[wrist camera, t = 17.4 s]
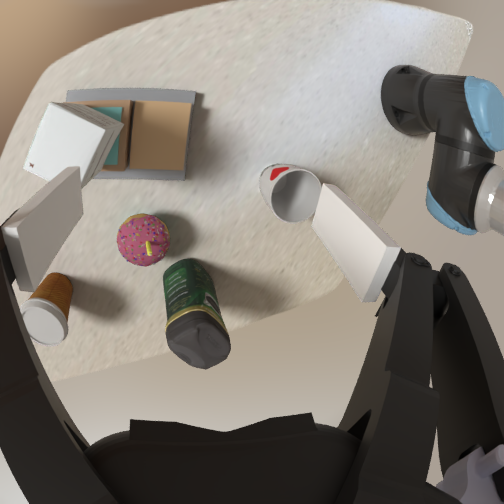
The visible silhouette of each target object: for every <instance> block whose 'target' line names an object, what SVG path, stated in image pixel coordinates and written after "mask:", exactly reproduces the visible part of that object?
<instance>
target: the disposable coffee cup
mask: <svg viewBox="0 0 504 504" xmlns="http://www.w3.org/2000/svg"><path fill="white" fill-rule="evenodd" d="M72 292H73V288H72V284H71V282H70V281H69V279H68V278H67V277H65V276H64V275H62V274H60V273H51V274H49V275H48V276H47V277H46V278H45V279H44V280H43V282H42V283H41V284H40V285H39V286H38V288H37V289H36V291H35V292H34V293H33V294H32V295H31V297H30V298H29V299H28V300H26V301H25V302H24V303H23V304H22V305H21V307H20V312H21V314H22V317H23V320H24V323H25V325H26V328H27V331H28V333H29V336H30V338H31V340H33V341H34V342H36V343H38V344H40V345H44V346H56V345H58V344H60V343H61V342H62V341H63V340H64V339H65V338H66V336H67V334H68V324H67V322H68V315H69V308H70V302H71V297H72Z"/></svg>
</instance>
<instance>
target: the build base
mask: <svg viewBox="0 0 504 504" xmlns="http://www.w3.org/2000/svg"><path fill="white" fill-rule="evenodd" d="M195 94H196V91H188V90H174V89H155V88H99V89H80V90H68V91H67V97H66V102H64V103H75V104H83V105H86V106H88V107H90V108H92V109H94V110H96V111H98V112H101V113H103V114H105V115H107V116H109V117H111V118H113V119H115V120H117V121H119V122H121V123H123V124H124V126H123V128H122V129H121V131H120V133H119V135H118V136H117V138H116V140H115V142H114V144H113V146H112V148H111V150H110V152H109V154H108V156H107V158H106V160H105V162H104V165H103V167H102V170H101V171H100V172H99V173H98V174H97V175H96V176H95V177H94V178H92V179H158V180H182V181H185V172H186V162H187V153H188V145H189V136H190V129H191V121H192V114H193V107H194V100H195Z"/></svg>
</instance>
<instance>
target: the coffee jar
mask: <svg viewBox="0 0 504 504" xmlns="http://www.w3.org/2000/svg"><path fill="white" fill-rule="evenodd" d="M163 285H164V293H165V301H166V311H167V324H166V328H165V333H166V338H167V343H168V346H169V348H170V349H171V351H173V352H174V353H175V354H176V355H177V356H178V357H179V358H181V359H182V360H183V361H185V362H186V363H187V364H189V365H191V366H193V367H196V368H201V369H208V368H210V367H212V366H215V365H217V364H219V363H220V362H222V361H224V360H225V359H226V358H227V357H228V355H229V353H230V350H231V344H230V338H229V335H228V332H227V329H226V327H225V324H224V322H223V319H222V316H221V312H220V308H219V305H218V301H217V297H216V292H215V288H214V284H213V281H212V279H211V278H210V276H209V275H208V273H207V272H206V271H205V269H204V268H203V267H202V266H201V265H200V264H199V263H198V262H196V261H195V260H193V259H183V260H180V261H178V262H176V263H175V264H173V265H172V266H170V267H169V268H168V269H167V270H166V271H165V273H164V275H163Z"/></svg>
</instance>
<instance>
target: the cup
mask: <svg viewBox="0 0 504 504" xmlns="http://www.w3.org/2000/svg"><path fill="white" fill-rule="evenodd" d="M259 187H260V191H261V193H262V196H263V198H264V200H265V202H266V204H267V205H268V206H269V208H270V209H271V210H272V212H273V213H274V214H275V216H276V217H277V218H278V219H280V220H281V221H283V222H286V223H300V222H303V221H305V220H307V219H309V218H310V217H311V216H312V215H313V214H314V213H315V212H316V208H317V204H318V201H319V197H320V193H321V190H322V186H321V183H320V181H319V179H318V178H317V177H316V176H315V175H314V174H313V173H312V172H310V171H308V170H305V169H302V168H299V167H297V166H294V165H288V164H275V165H271V166H268V167H267V168H265V169H264V170H263V171H262V173H261V175H260V179H259Z"/></svg>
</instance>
